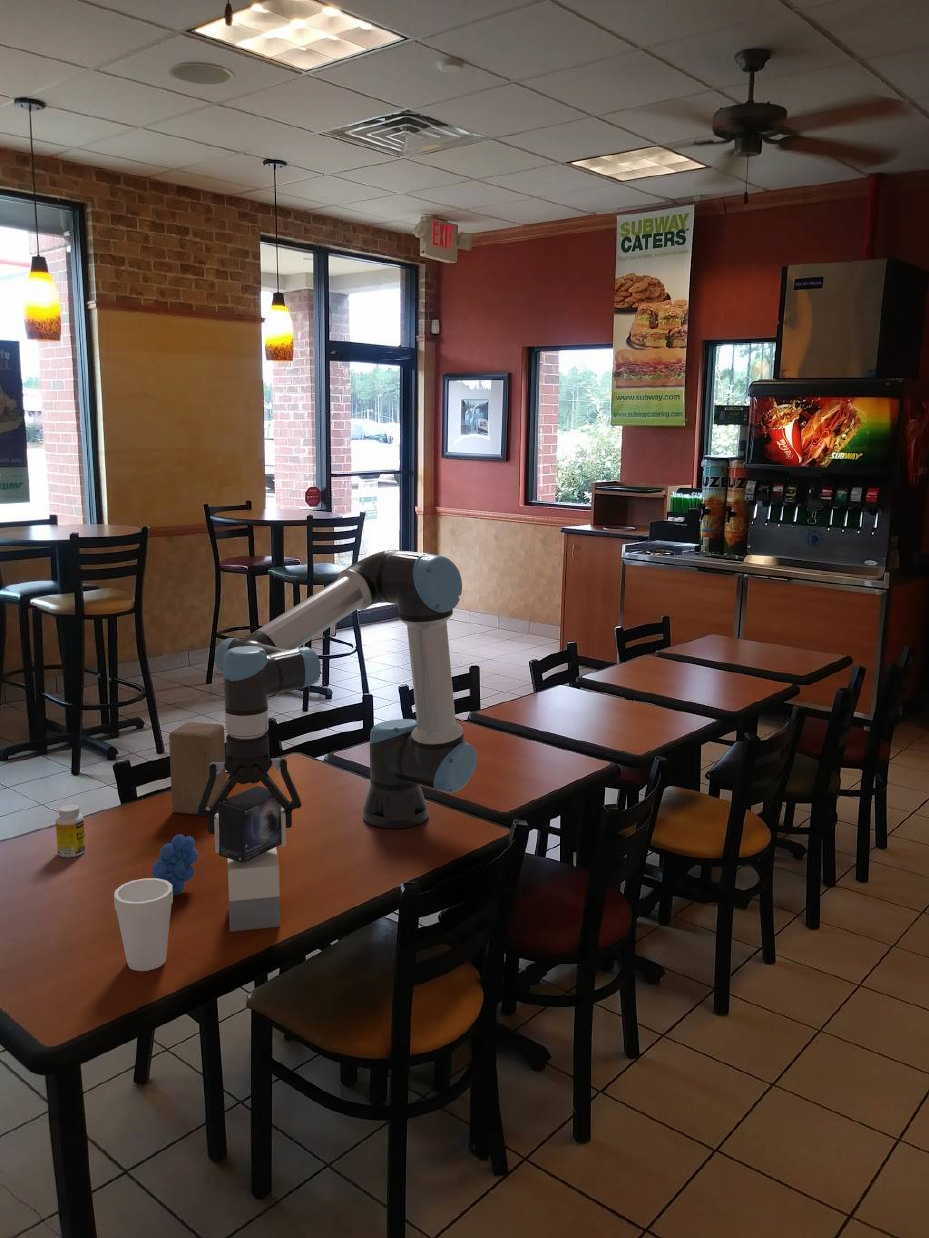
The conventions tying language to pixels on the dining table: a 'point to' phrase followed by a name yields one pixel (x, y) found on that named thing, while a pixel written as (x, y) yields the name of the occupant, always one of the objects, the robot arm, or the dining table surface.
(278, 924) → the tower base
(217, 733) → the block
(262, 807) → the small box
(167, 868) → the grapes
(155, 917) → the foam cup
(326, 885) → the dining table surface
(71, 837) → the supplement bottle
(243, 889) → the tower top
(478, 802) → the dining table surface
